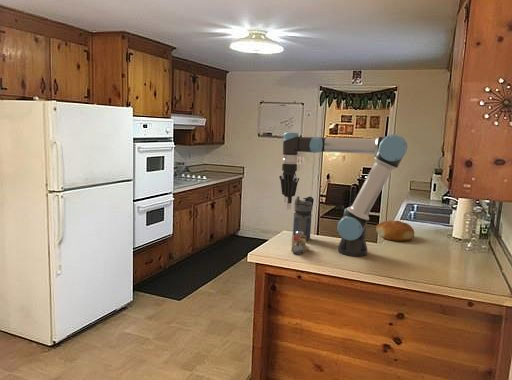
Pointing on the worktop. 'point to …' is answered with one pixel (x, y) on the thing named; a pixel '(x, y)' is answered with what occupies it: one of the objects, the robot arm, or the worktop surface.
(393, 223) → the bread
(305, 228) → the beverage bottle
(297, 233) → the lever
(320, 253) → the worktop surface
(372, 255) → the worktop surface
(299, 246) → the valve pipe
